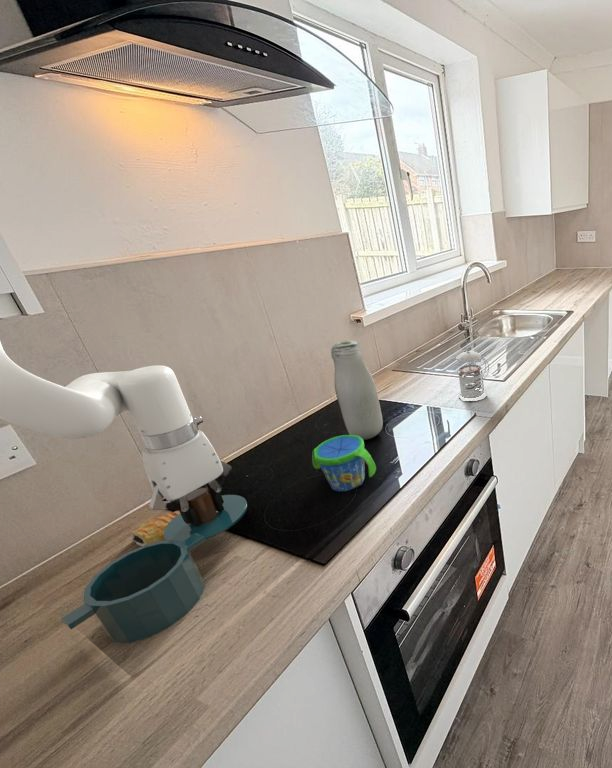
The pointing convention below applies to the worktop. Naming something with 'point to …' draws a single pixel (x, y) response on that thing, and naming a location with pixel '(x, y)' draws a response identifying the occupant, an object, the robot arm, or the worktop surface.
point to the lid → (207, 516)
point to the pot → (143, 591)
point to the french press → (469, 389)
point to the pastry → (152, 530)
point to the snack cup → (343, 461)
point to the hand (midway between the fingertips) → (206, 515)
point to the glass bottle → (356, 391)
